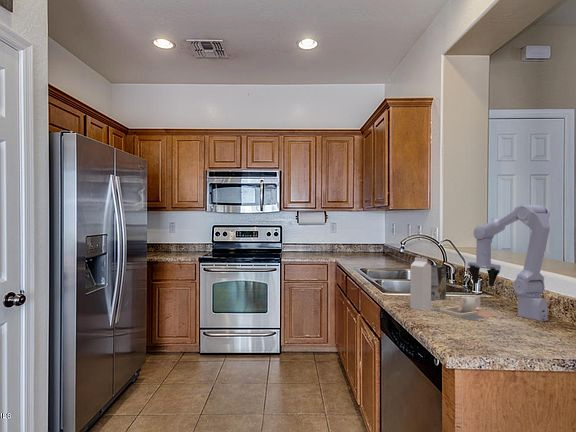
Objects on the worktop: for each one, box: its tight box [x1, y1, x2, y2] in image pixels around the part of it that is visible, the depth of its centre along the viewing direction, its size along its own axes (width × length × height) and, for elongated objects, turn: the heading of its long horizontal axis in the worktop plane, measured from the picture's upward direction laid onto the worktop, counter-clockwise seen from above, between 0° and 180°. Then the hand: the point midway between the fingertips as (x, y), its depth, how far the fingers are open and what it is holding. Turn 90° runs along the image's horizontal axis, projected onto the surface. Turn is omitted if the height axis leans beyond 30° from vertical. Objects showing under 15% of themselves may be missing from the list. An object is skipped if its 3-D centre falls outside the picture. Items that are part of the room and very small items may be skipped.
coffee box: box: [430, 264, 447, 302], centre depth 184 cm, size 9×6×16 cm
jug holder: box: [432, 304, 502, 321], centre depth 156 cm, size 18×19×2 cm
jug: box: [460, 295, 481, 313], centre depth 157 cm, size 10×5×6 cm, turn 120°
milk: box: [409, 257, 432, 312], centre depth 163 cm, size 6×6×22 cm
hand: (483, 284), depth 172 cm, fingers open, 7 cm apart
